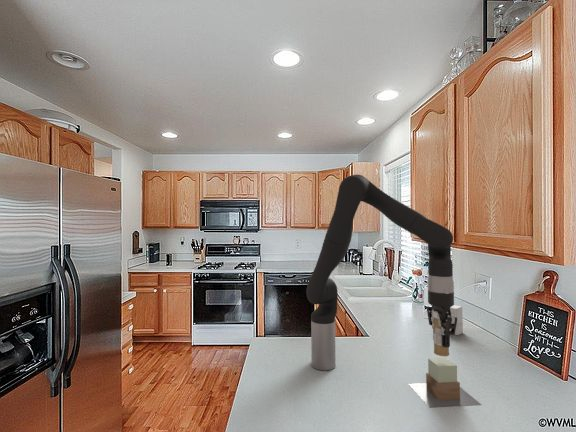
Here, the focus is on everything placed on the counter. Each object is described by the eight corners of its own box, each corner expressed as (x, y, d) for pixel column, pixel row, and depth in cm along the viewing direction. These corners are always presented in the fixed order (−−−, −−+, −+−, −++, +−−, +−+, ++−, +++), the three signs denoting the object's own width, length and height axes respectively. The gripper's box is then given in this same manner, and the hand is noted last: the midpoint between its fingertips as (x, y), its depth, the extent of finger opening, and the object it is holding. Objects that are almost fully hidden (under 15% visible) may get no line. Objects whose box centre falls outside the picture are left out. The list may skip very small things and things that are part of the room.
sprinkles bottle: (436, 350, 106) (435, 308, 106) (451, 354, 103) (450, 311, 103) (431, 354, 103) (430, 311, 103) (446, 358, 100) (446, 314, 100)
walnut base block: (426, 388, 106) (426, 373, 106) (446, 387, 106) (446, 372, 106) (438, 400, 99) (437, 383, 99) (460, 399, 99) (459, 382, 100)
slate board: (408, 387, 109) (408, 384, 109) (453, 384, 110) (453, 381, 110) (429, 411, 95) (429, 407, 95) (481, 408, 96) (481, 404, 96)
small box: (463, 332, 161) (462, 306, 162) (457, 335, 157) (457, 308, 158) (446, 328, 168) (446, 303, 168) (440, 331, 164) (440, 305, 164)
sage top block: (428, 373, 105) (428, 358, 106) (446, 372, 106) (445, 357, 106) (438, 382, 99) (438, 366, 100) (457, 381, 100) (456, 365, 100)
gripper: (418, 285, 110) (419, 336, 110) (441, 294, 96) (442, 353, 95) (439, 285, 111) (440, 335, 110) (465, 294, 96) (466, 352, 96)
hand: (441, 343), depth 103 cm, fingers closed on sprinkles bottle, 4 cm apart
